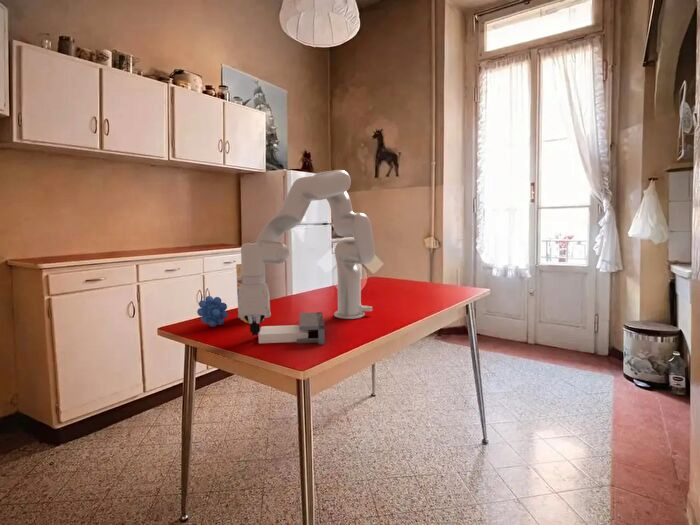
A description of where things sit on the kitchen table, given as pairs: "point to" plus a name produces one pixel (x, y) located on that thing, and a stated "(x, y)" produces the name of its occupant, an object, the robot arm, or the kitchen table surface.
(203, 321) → the grapes
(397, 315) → the kitchen table surface
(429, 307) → the kitchen table surface
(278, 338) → the white thin flat slab
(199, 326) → the kitchen table surface
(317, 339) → the overhang bracket
